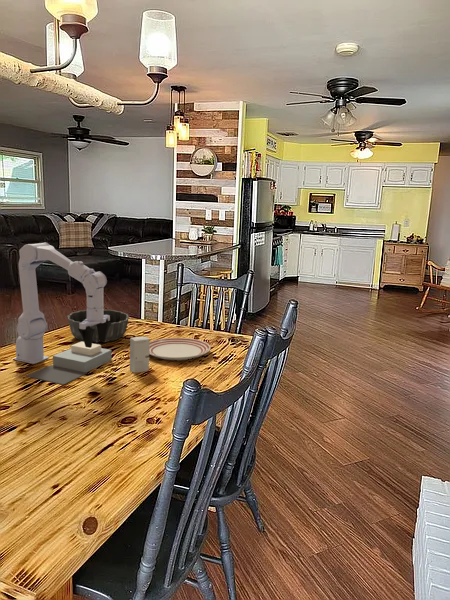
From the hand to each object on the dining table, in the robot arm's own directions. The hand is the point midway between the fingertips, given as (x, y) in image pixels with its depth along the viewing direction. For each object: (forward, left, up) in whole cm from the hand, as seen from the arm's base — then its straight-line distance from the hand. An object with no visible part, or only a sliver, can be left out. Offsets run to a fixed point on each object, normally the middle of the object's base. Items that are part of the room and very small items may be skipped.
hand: (95, 344), depth 165 cm
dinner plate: (+16, +32, -10) cm, 38 cm away
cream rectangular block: (-9, +6, -6) cm, 13 cm away
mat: (-9, -10, -10) cm, 16 cm away
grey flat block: (-9, +4, -10) cm, 14 cm away
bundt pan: (-24, +34, -10) cm, 43 cm away
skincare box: (+13, +8, -10) cm, 19 cm away
